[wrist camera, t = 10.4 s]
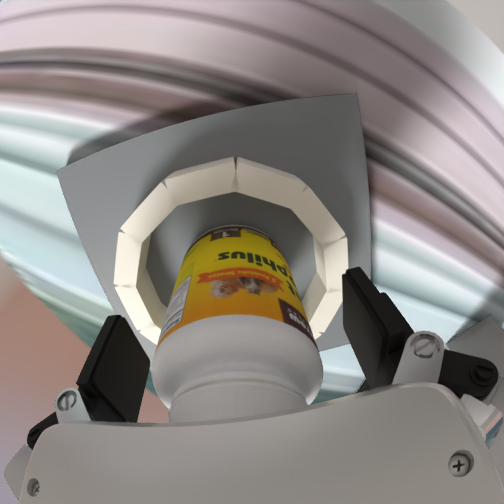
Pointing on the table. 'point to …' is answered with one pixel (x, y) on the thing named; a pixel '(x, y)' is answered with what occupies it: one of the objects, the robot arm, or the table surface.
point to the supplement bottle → (235, 332)
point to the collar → (228, 204)
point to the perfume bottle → (482, 345)
